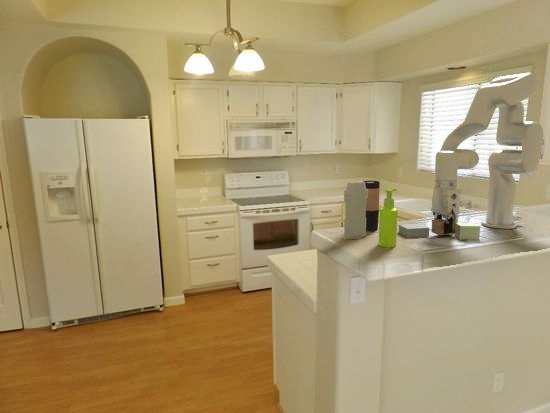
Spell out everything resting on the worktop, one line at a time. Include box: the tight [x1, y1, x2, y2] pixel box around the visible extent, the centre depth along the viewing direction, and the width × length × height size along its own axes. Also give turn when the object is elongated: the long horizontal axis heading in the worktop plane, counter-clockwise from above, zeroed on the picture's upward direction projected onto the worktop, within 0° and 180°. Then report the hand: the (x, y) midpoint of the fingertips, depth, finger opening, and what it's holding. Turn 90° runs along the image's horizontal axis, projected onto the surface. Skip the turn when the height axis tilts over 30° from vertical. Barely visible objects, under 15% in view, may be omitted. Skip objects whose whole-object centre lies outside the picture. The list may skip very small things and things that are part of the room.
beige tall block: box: [343, 180, 368, 240], centre depth 138 cm, size 11×4×22 cm, turn 113°
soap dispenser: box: [378, 188, 398, 248], centre depth 128 cm, size 6×7×20 cm
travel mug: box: [362, 180, 381, 232], centre depth 150 cm, size 8×8×20 cm
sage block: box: [454, 222, 481, 240], centre depth 137 cm, size 7×4×5 cm, turn 84°
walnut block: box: [431, 217, 456, 236], centre depth 139 cm, size 7×4×5 cm, turn 103°
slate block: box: [398, 223, 430, 238], centre depth 143 cm, size 9×7×4 cm
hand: (443, 231), depth 140 cm, fingers closed on walnut block, 4 cm apart
